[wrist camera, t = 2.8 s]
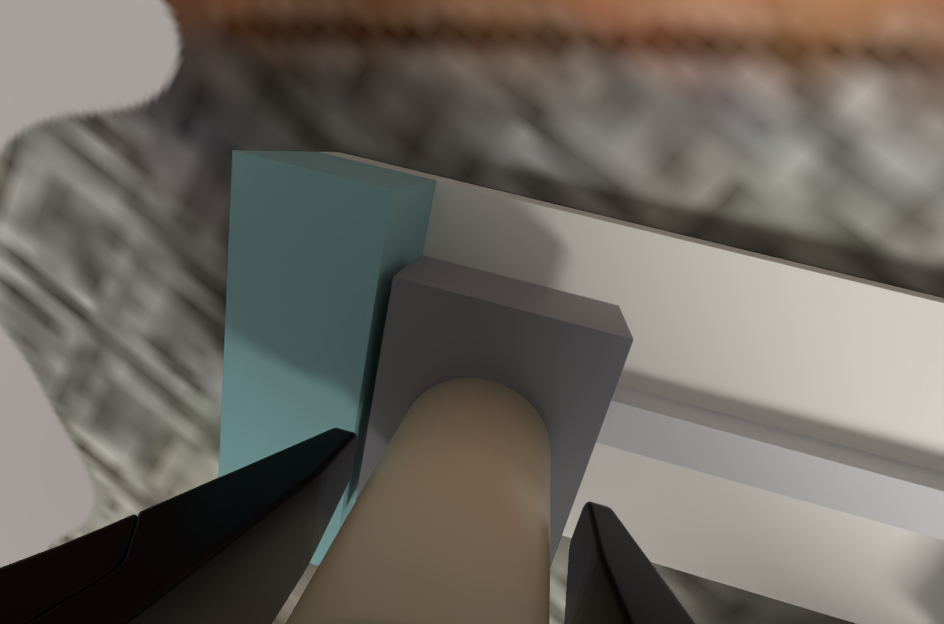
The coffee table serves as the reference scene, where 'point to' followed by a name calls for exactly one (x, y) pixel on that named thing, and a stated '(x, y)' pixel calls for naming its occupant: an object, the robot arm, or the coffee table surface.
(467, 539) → the carriage
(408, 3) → the coffee table surface
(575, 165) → the coffee table surface
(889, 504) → the rail track
